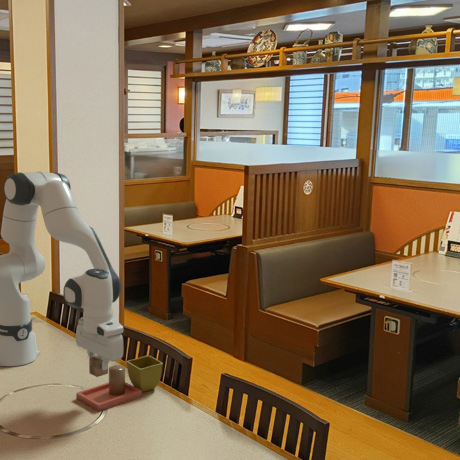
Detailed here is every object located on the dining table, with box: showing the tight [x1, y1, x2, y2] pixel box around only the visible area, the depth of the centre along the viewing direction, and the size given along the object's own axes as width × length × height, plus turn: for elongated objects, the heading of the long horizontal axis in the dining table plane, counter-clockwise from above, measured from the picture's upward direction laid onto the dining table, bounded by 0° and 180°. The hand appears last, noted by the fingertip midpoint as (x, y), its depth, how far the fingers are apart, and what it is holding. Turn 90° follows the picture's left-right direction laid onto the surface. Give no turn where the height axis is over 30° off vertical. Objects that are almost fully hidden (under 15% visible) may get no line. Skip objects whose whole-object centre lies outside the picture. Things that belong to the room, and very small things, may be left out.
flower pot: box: [126, 355, 164, 393], centre depth 199 cm, size 9×9×9 cm
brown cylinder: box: [108, 364, 126, 396], centre depth 193 cm, size 5×5×8 cm
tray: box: [75, 381, 143, 413], centre depth 191 cm, size 12×16×2 cm
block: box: [88, 354, 109, 378], centre depth 187 cm, size 4×4×5 cm
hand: (98, 366), depth 187 cm, fingers closed on block, 4 cm apart
